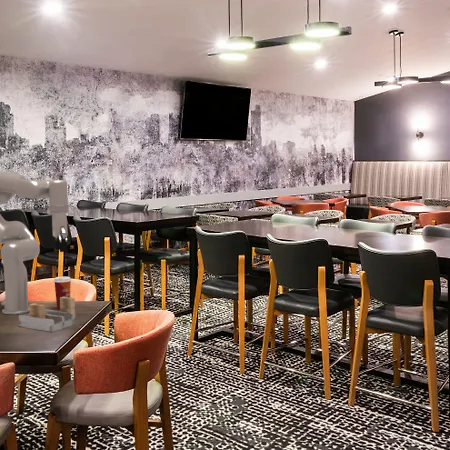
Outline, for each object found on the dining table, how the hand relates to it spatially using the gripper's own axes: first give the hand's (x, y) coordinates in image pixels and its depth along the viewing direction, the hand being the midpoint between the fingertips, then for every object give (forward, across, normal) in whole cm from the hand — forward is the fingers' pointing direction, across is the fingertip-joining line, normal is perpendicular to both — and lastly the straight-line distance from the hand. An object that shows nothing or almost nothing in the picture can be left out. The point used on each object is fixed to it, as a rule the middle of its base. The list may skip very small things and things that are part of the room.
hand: (61, 250), depth 250 cm
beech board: (+29, 0, +1) cm, 29 cm away
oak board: (+29, +7, -12) cm, 32 cm away
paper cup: (+29, -20, +2) cm, 35 cm away
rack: (+29, +7, -9) cm, 31 cm away
